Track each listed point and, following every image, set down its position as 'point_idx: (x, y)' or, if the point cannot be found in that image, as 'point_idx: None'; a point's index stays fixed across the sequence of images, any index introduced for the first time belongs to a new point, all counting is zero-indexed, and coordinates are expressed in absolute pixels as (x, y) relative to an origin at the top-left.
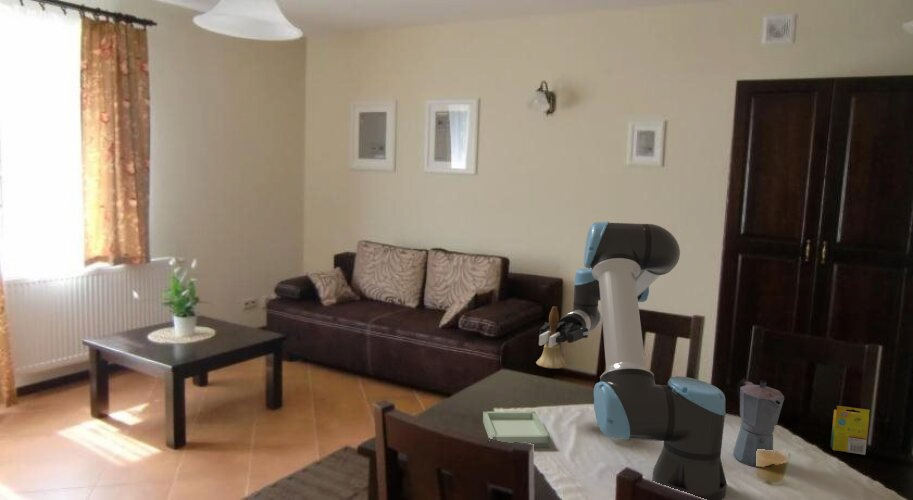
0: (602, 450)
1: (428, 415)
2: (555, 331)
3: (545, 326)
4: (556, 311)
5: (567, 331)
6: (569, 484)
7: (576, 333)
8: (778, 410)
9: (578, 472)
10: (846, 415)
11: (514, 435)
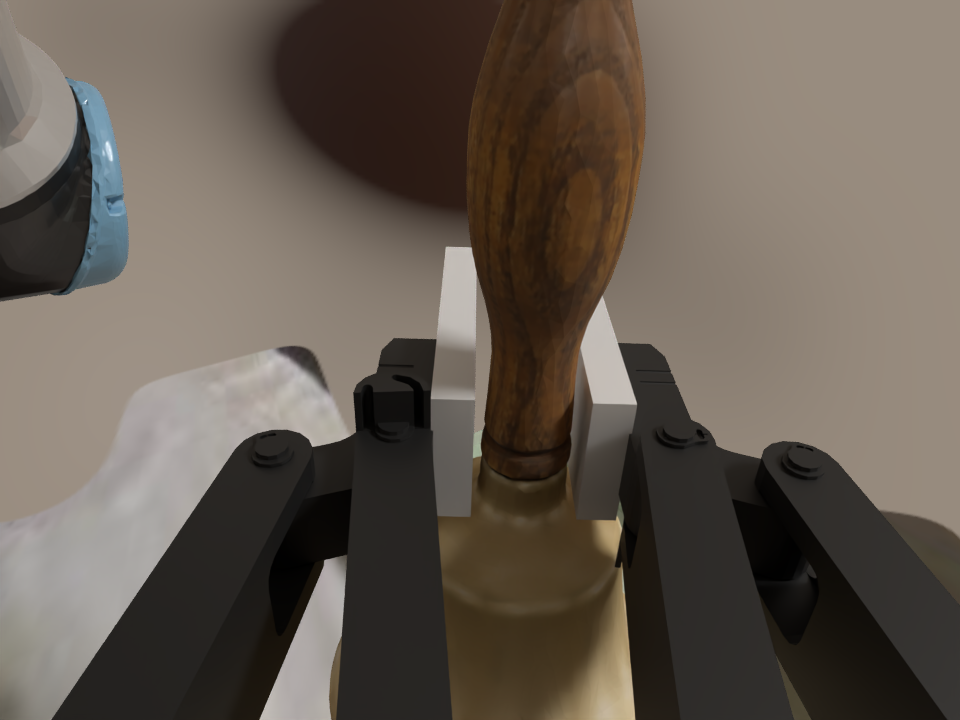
0: (107, 598)
1: (940, 540)
2: (492, 353)
3: (951, 671)
4: (508, 4)
5: (348, 557)
6: (243, 379)
7: (149, 599)
8: None
9: (218, 430)
10: None
11: (476, 440)
